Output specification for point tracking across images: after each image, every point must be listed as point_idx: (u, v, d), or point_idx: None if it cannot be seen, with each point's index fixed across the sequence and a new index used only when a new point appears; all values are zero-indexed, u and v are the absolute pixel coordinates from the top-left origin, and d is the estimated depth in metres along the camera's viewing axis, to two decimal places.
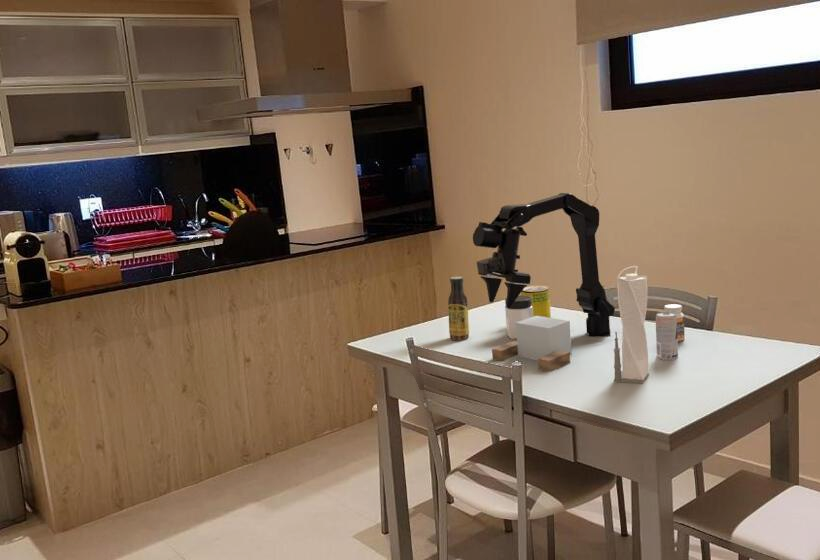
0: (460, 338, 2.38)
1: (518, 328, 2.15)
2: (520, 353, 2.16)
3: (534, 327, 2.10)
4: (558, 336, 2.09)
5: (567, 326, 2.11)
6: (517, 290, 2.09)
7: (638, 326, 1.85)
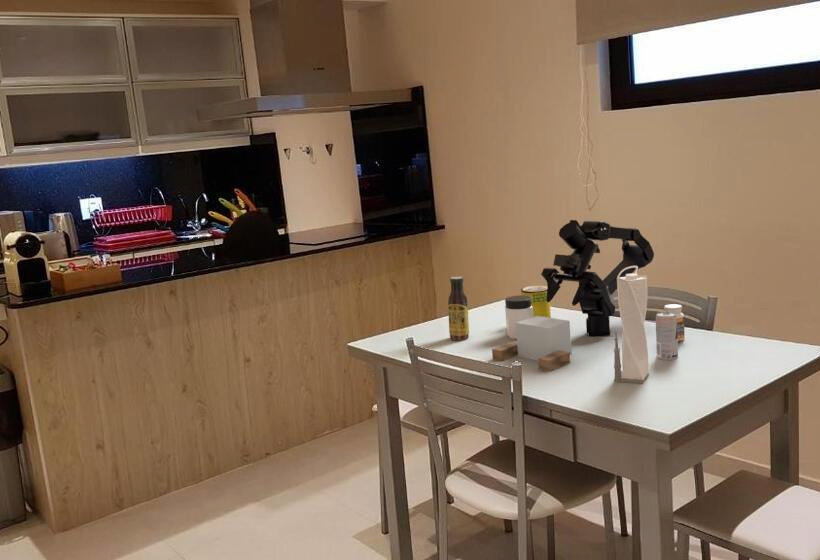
0: (460, 338, 2.38)
1: (518, 328, 2.15)
2: (520, 353, 2.16)
3: (534, 327, 2.10)
4: (557, 336, 2.09)
5: (567, 326, 2.11)
6: (586, 292, 2.15)
7: (638, 326, 1.85)
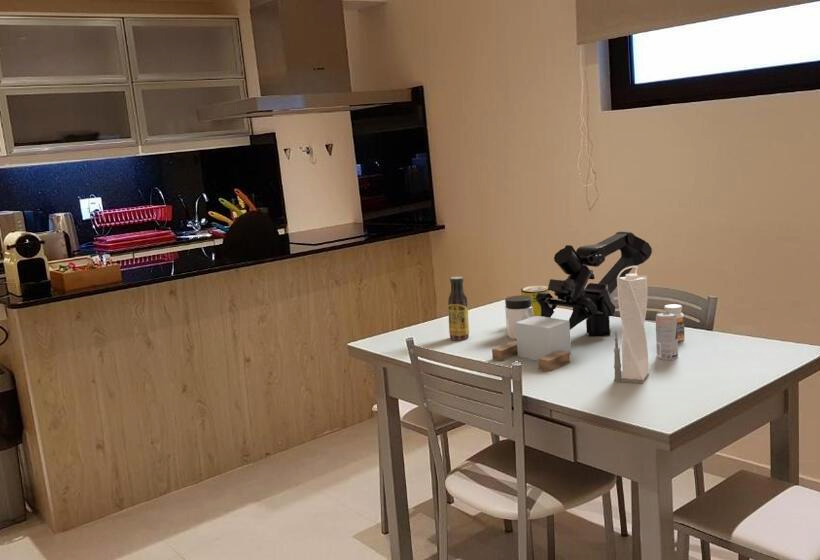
0: (460, 338, 2.38)
1: (518, 328, 2.15)
2: (520, 353, 2.16)
3: (534, 327, 2.10)
4: (557, 336, 2.09)
5: (567, 326, 2.11)
6: (579, 318, 2.14)
7: (638, 326, 1.85)
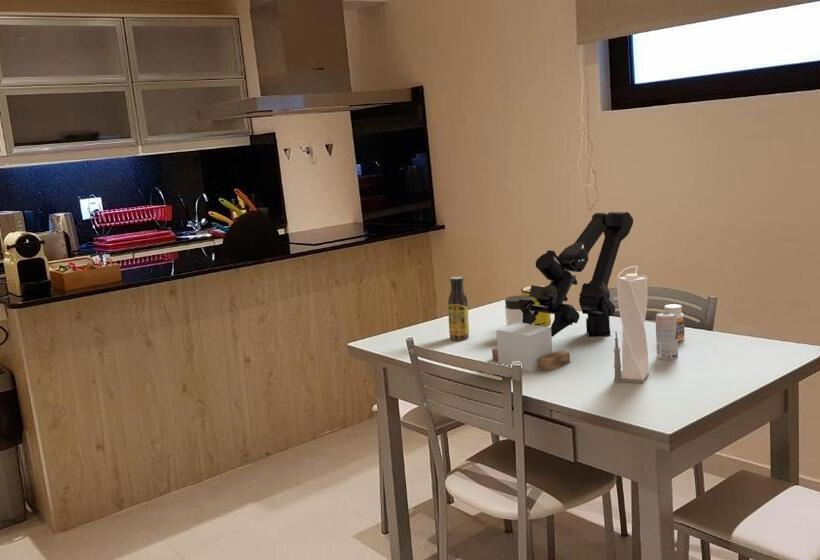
0: (460, 338, 2.38)
1: (498, 335, 2.09)
2: (501, 361, 2.11)
3: (514, 334, 2.05)
4: (538, 344, 2.04)
5: (548, 333, 2.06)
6: (561, 325, 2.09)
7: (638, 326, 1.85)
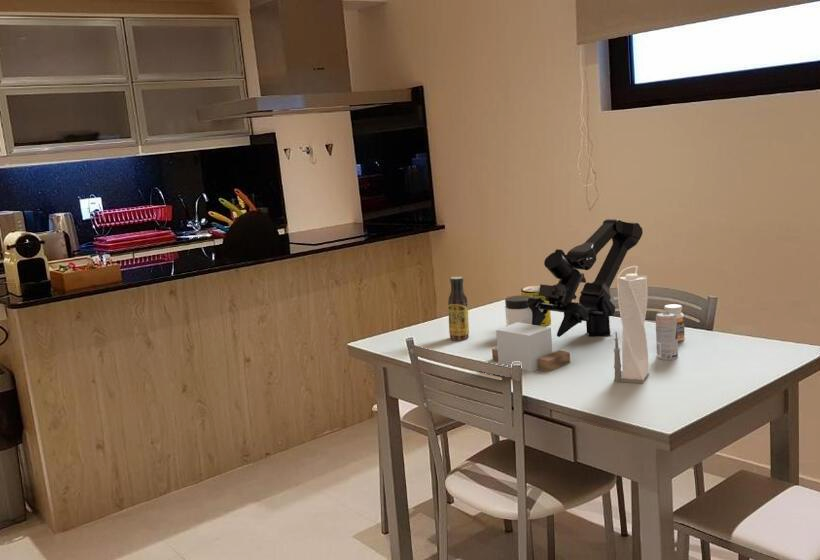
0: (460, 338, 2.38)
1: (498, 335, 2.09)
2: (501, 361, 2.11)
3: (514, 334, 2.05)
4: (538, 344, 2.04)
5: (548, 333, 2.06)
6: (571, 323, 2.12)
7: (638, 326, 1.85)
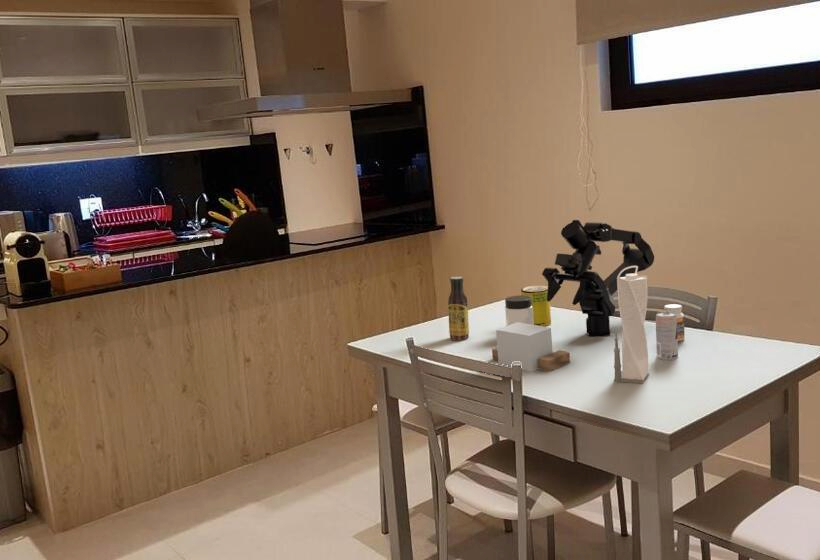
0: (460, 338, 2.38)
1: (498, 335, 2.09)
2: (501, 361, 2.11)
3: (514, 334, 2.05)
4: (538, 344, 2.04)
5: (548, 333, 2.06)
6: (586, 292, 2.16)
7: (638, 326, 1.85)
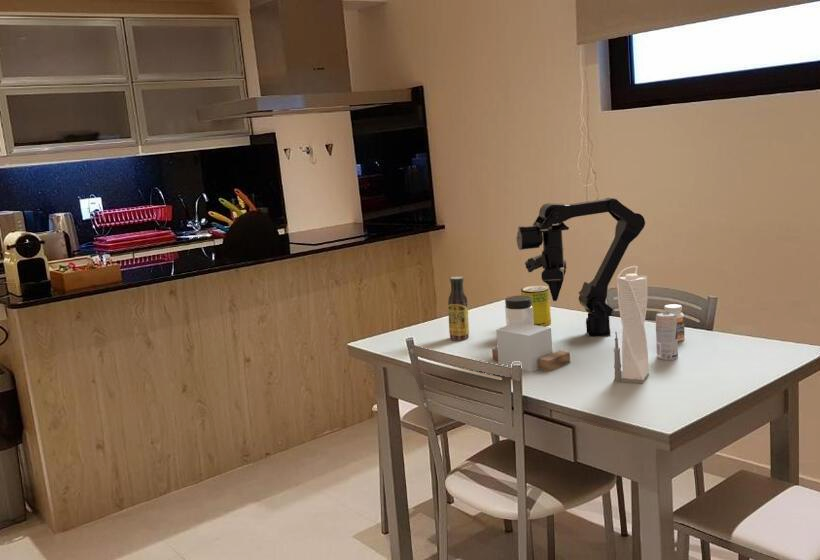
0: (460, 338, 2.38)
1: (498, 335, 2.09)
2: (501, 361, 2.11)
3: (514, 334, 2.05)
4: (538, 344, 2.04)
5: (548, 333, 2.06)
6: (557, 285, 2.20)
7: (638, 326, 1.85)
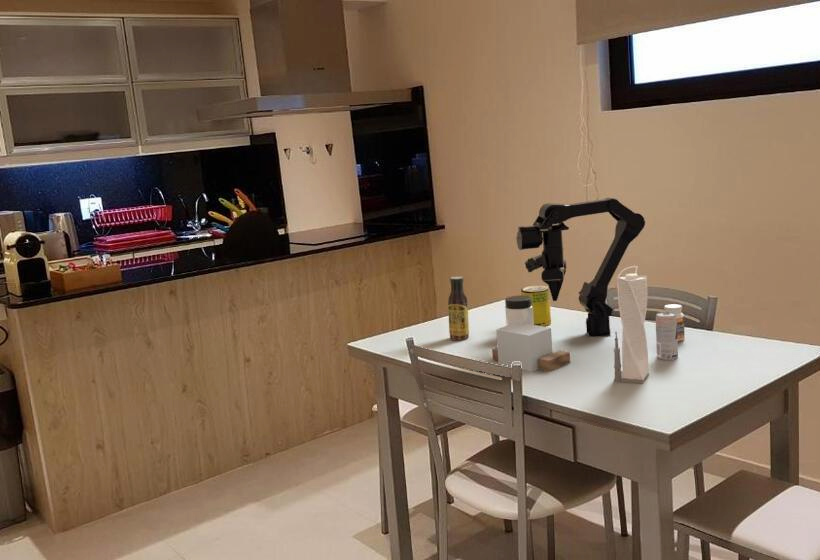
0: (460, 338, 2.38)
1: (498, 335, 2.09)
2: (501, 361, 2.11)
3: (514, 334, 2.05)
4: (538, 344, 2.04)
5: (548, 333, 2.06)
6: (557, 285, 2.20)
7: (638, 326, 1.85)
